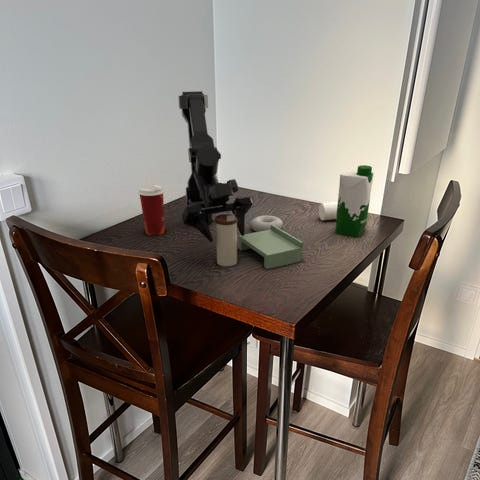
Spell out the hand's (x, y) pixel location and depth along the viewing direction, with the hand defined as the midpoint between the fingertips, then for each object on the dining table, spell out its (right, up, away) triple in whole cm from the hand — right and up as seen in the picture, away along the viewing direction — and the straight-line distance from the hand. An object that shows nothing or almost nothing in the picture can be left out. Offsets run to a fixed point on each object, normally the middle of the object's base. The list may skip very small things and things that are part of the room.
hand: (227, 238), depth 127 cm
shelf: (+11, -3, +9) cm, 15 cm away
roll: (+36, +12, +35) cm, 51 cm away
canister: (0, -6, +4) cm, 7 cm away
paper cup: (-23, +6, +24) cm, 34 cm away
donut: (+12, +7, +26) cm, 29 cm away
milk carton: (+38, +6, +24) cm, 45 cm away
